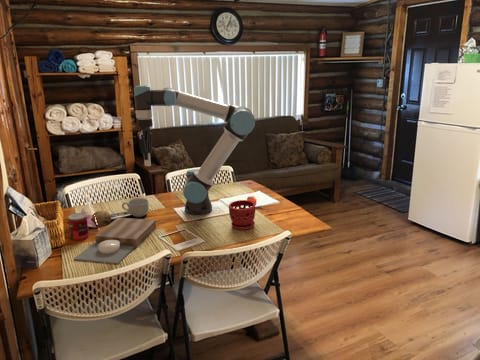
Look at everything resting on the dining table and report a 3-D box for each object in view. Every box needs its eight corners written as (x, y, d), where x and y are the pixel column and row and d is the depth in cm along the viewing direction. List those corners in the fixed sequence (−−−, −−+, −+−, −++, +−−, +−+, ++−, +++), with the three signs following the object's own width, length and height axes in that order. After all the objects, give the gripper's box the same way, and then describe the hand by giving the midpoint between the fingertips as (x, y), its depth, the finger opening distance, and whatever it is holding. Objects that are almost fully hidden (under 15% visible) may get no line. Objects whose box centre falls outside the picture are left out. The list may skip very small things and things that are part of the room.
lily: (72, 237, 186) (79, 222, 183) (63, 222, 193) (70, 206, 190) (95, 237, 196) (102, 222, 193) (86, 222, 202) (93, 207, 199)
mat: (134, 247, 174) (134, 246, 174) (118, 264, 160) (118, 262, 159) (93, 244, 177) (93, 243, 177) (74, 260, 163) (73, 258, 163)
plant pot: (242, 219, 205) (242, 197, 201) (260, 226, 196) (260, 204, 192) (223, 226, 196) (223, 204, 192) (242, 234, 187) (242, 210, 183)
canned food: (73, 234, 188) (71, 213, 184) (91, 233, 188) (88, 212, 185) (68, 241, 180) (65, 219, 177) (86, 240, 181) (83, 218, 178)
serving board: (156, 227, 195) (155, 220, 194) (137, 247, 174) (136, 239, 173) (118, 224, 198) (118, 217, 197) (95, 243, 178) (94, 235, 176)
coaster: (124, 246, 173) (123, 241, 173) (110, 255, 165) (110, 250, 165) (108, 243, 177) (107, 238, 176) (94, 252, 169) (93, 246, 168)
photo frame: (177, 249, 170) (158, 236, 184) (177, 252, 170) (158, 238, 184) (205, 240, 179) (185, 228, 192) (205, 242, 179) (185, 230, 193)
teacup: (152, 211, 215) (151, 198, 213) (145, 219, 205) (144, 205, 203) (127, 211, 217) (126, 197, 214) (119, 218, 206) (118, 204, 204)
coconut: (97, 233, 197) (100, 221, 193) (84, 222, 200) (87, 210, 196) (113, 227, 205) (116, 215, 201) (100, 215, 208) (103, 204, 204)
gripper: (142, 116, 196) (146, 162, 202) (130, 120, 183) (135, 168, 190) (156, 116, 194) (159, 162, 201) (146, 120, 182) (149, 169, 189)
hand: (147, 165), depth 196 cm, fingers closed
